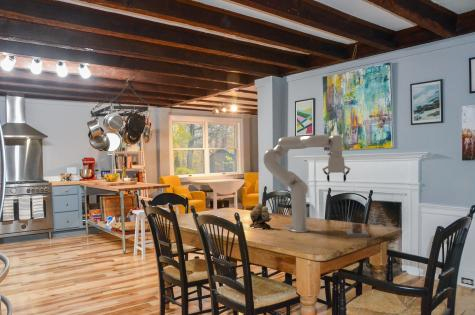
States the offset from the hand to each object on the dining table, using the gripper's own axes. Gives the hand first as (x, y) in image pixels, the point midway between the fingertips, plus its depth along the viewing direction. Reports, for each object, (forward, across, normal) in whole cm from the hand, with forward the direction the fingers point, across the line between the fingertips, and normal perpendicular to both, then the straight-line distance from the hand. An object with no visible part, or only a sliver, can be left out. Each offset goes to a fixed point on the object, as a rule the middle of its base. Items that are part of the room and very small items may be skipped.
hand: (336, 181), depth 238 cm
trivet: (+32, +11, -7) cm, 35 cm away
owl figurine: (+33, -51, +14) cm, 62 cm away
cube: (+31, +11, -7) cm, 33 cm away
